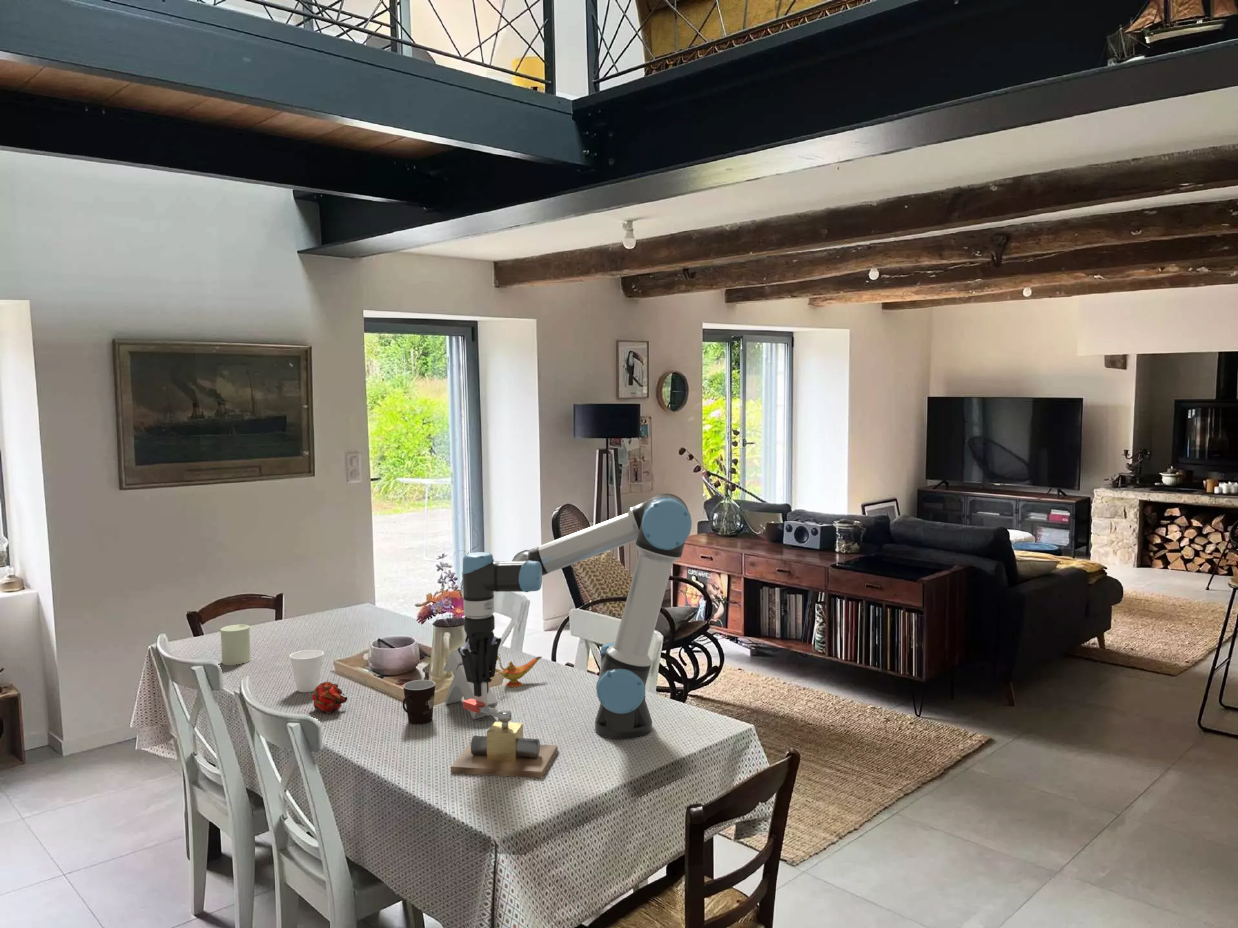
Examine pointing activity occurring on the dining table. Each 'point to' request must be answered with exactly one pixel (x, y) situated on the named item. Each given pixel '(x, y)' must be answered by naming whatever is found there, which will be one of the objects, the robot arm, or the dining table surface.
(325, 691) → the dragon fruit
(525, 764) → the valve board
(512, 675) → the magic lamp
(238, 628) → the can
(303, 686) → the cup
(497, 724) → the ball valve
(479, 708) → the valve lever
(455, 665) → the grey a-frame
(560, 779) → the dining table surface
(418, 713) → the coffee mug
